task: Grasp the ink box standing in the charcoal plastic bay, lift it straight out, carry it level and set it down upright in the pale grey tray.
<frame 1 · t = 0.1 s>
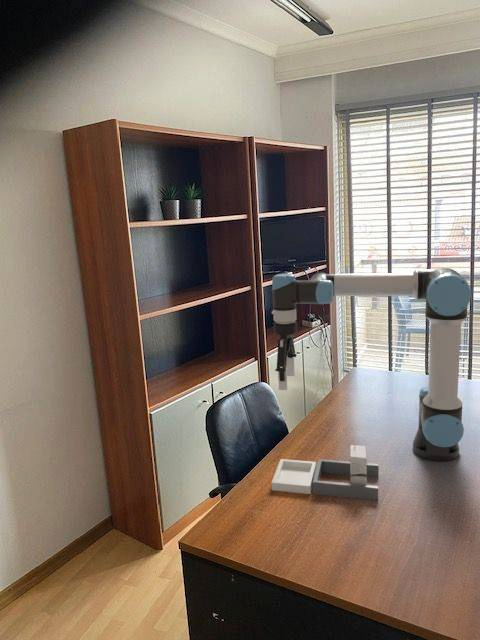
hand: (287, 382, 172), 28 cm above the table, fingers open, 13 cm apart
bay: (348, 484, 160), on the table
ink box: (358, 486, 159), on the table
tray: (294, 479, 165), on the table
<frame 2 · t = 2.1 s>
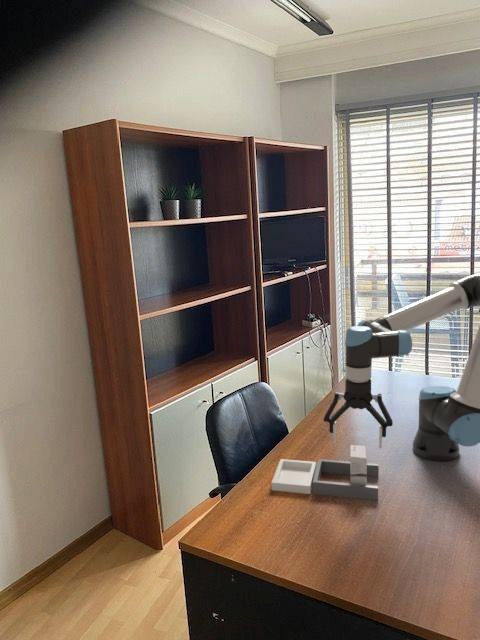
hand: (357, 444, 156), 14 cm above the table, fingers open, 13 cm apart
nothing on the table moved.
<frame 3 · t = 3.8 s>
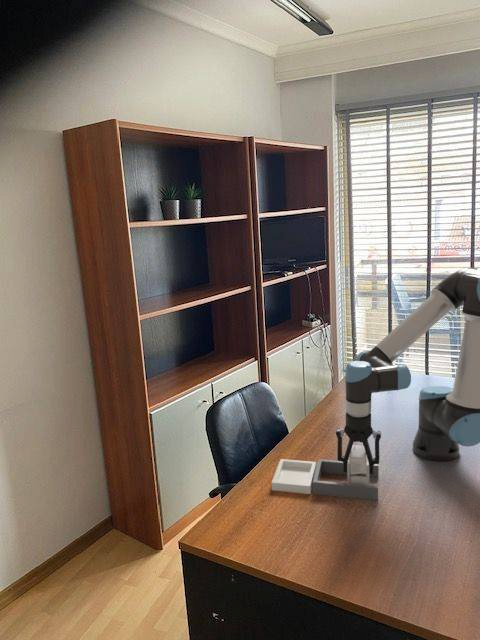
hand: (358, 481, 159), 1 cm above the table, fingers closed on ink box, 5 cm apart
ink box: (358, 486, 159), on the table, touching gripper
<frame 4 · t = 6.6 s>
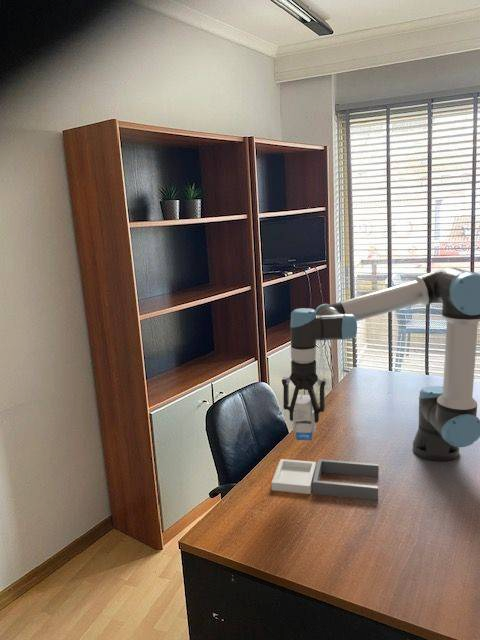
hand: (304, 430, 160), 17 cm above the table, fingers closed on ink box, 5 cm apart
ink box: (304, 435, 160), point 16 cm above the table, touching gripper
when the fingers open (3 cm above the table, at t = 9.8 s): ink box drops 1 cm, resting on tray.
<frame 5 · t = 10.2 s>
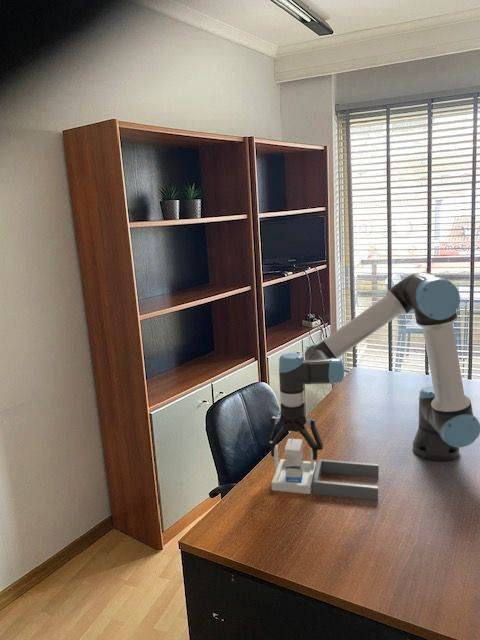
hand: (294, 466, 164), 4 cm above the table, fingers open, 11 cm apart
ink box: (294, 478, 165), resting on tray
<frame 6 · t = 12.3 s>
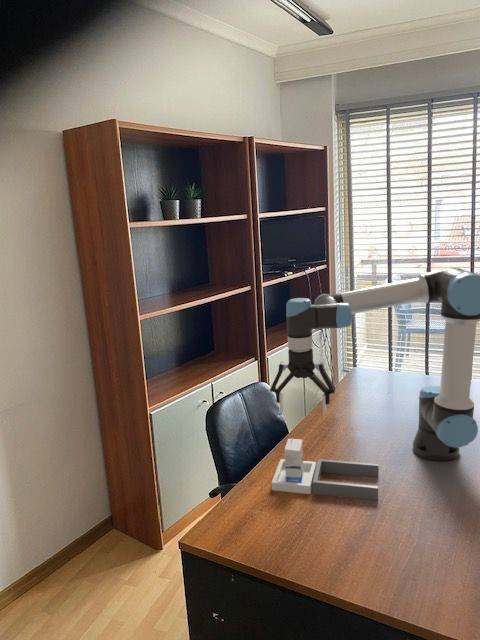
hand: (303, 412, 162), 22 cm above the table, fingers open, 13 cm apart
nothing on the table moved.
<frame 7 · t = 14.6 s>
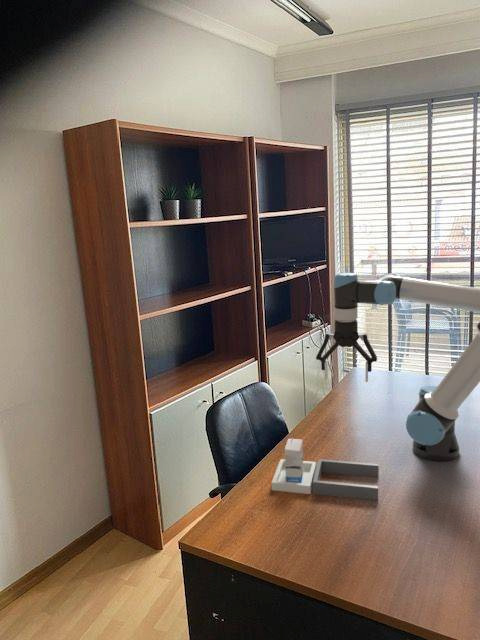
hand: (346, 379, 175), 27 cm above the table, fingers open, 13 cm apart
nothing on the table moved.
at the end: ink box inside the target area on the tray (0.0 cm from its centre), point 0.4 cm above the tray's base; ink box tilted 0°; the gripper is holding nothing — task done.
